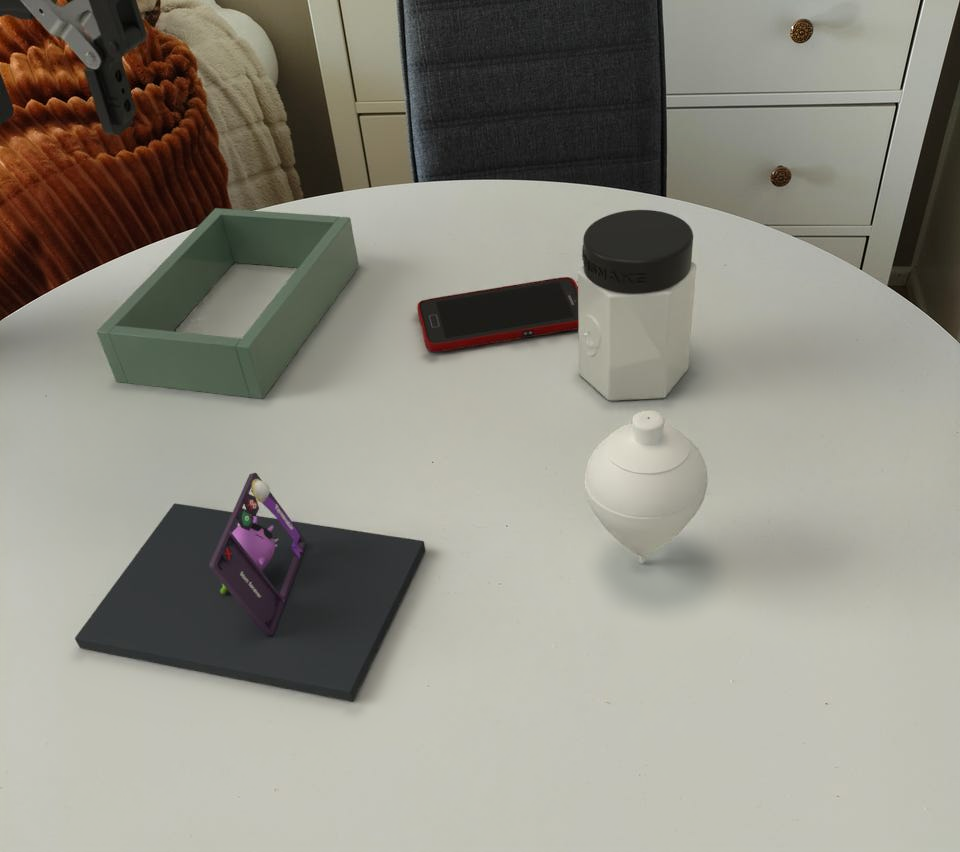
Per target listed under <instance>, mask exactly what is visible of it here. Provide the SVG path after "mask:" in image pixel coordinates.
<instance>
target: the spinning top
mask: <svg viewBox="0 0 960 852" xmlns="http://www.w3.org/2000/svg"><path fill="white" fill-rule="evenodd" d="M631 421H632V422H630V423H626V424H624V425H622V426H620V427H617V429H615V430H614V431H612V432H611V433H610V435H608V436H606V438H604V439H603V440H602V441H601V442H600V443H599V444H598V445H597V447H596V448H595V449H594V451H593V452H592V454H591V455H590V458H589V460H588V462H587V465H586V469H585V474H584V487H585V494H586V498H587V502H588V505H589V506H590V509H591V510H592V512H593V513H594V515H595V516H596V518H597V519H598V521H599V522H600V523H601V525H602V526H603V528H605V530H606V531H607V532H608V533H609V534H610V536H613V538H615V539H616V540H617V541H618V543H620V544H621V545H622V546H624V547H625V548H626V549H628V550H629V551H630V552H632V553H634V554H635V555H637V556H638V563H639V564H641V565H644V564H645V562H646V556H647V555H650V554H652V553H654V552H655V551H658V550H659V549H660V548H662V547H663V546H665V545H666V544H667V543H669V542H670V541H672V540H673V539H674V538H675V537H676V536H678V535H679V534H680V533H681V532H682V531H683V530H684V529H685V528H686V526H687V525H688V524H689V523H690V522H691V521H692V519H693V518H694V517H695V516H696V515H697V513H698V511H699V510H700V509H701V506H702V504H703V502H704V500H705V497H706V493H707V490H708V482H709V481H708V480H709V479H708V469H707V465H706V462H705V459H704V456H703V455H702V453H701V451H700V450H699V449H698V447H697V446H696V444H695V443H694V442H693V441H692V440H691V439H690V438H688V437H687V436H686V435H685V433H684V432H683V431H681V430H680V429H679V428H677V427H676V426H673V425H671V424H668V423H666V420H665V417H664V416H663V414H662V413H660V412H659V411H655V410H653V409H652V410H651V409H648V410H641V411H639V412H637V413H635V414H634V415H633V417H632V420H631Z"/></svg>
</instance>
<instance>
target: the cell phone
mask: <svg viewBox="0 0 960 852" xmlns="http://www.w3.org/2000/svg"><path fill="white" fill-rule="evenodd" d="M416 309H417V315H418V320H419V323H420V324H419V325H420V327H421V332H422V336H423V340H424V344H425V347H426V349H427V350H428V351H429V352H431V353H439V352H447V351H454V350H458V349H466V348H471V347H478V346H483V345H489V344H490V345H491V344H495V343H501V342H506V341H513V340H519V339H525V338H531V337H537V336H544V335H550V334H555V333H561V332H567V331H574V330H578V283H577V282H576V280H575V279H574V278H572V277H569V276H562V277H556V278H555V277H554V278H548V279H542V280H536V281H530V282H524V283H523V282H522V283H518V284H511V285H505V286H500V287H493V288H487V289H481V290H474V291H468V292H462V293H455V294H450V295H443V296H437V297H432V298H427V299H422V300H420V301H419V302H418V303H417V307H416Z"/></svg>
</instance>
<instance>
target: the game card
mask: <svg viewBox="0 0 960 852" xmlns="http://www.w3.org/2000/svg"><path fill="white" fill-rule="evenodd" d="M250 492H251V493H252V494H250ZM258 502H259V503H261V504H262V505H263V506H264V507H265V508H267V509H268V511H270V513H271V514H273V516H274V517H275V519H278V520H279V522H280V523H281V524H282V526H283V527H284V528H285V529H286V531H287V532H288V533H289V535H290V536H291V537H292V539H293V540H294V542H293V544H292V550H293V551H294V552H295V554H294V557H293V559H292V562H291V565H290V567H289V570H288V573H287V575H286V578H285V581H284V583H283V586H282V589H281V591H280V594H279V592H278V591H277V590H276V589H275V587H274V586H273V585H272V584H271V582H270V581H269V580H268V579H267V577H266V576H265V575H264V573H263V572H262V570H263V569H264V568H265V567H266V565H267V564H268V562H269V561H270V559H271V558H272V556H273V554H274V550H275V547H276V546H277V545H276V544H275V542H276V541H278V539H275V540H274V539H273V536H272V533H271V532H272V530H273V528H274V526H273V525H272V526H270V527H269V528H268V529H266V528H264V527H262V526H260V525H258V519H257V516H258V515H257V514H258V512H259V510H260V507H259V503H258ZM231 512H232V515H231V517H230V519H229V521H228V523H227V526H226V528H225V530H224V532H223V535H222V537H221V539H220V541H219V544H218V546H217V548H216V550H215V552H214V555H213V557H212V559H211V561H210V564H209V567H210V569H211V570H212V572H213V573H214V574H215V575H216V576H217V578H218V579H219V580H220V581H221V582H222V585H223V586H222V589H221V590H220V592H221V594H226V593H227V591H229V592H230V593H231V594H232V595H233V597H234V598H235V599H236V600H237V601H238V603H239V604H240V605H241V606H242V607H243V609H244V610H245V611H246V612H247V613H248V615H249V616H250V617H251V618H252V619H253V621H254V622H255V623H256V624H257V625H258V627H259V628H260V629H261V630H262V631H263V633H264V634H265V635H266V636H271V635H273V634H274V631H275V629H276V626H277V623H278V620H279V618H280V615H281V612H282V609H283V607H284V604H285V601H286V599H287V596H288V593H289V590H290V588H291V585H292V582H293V579H294V577H295V574H296V571H297V569H298V566H299V563H300V560H301V558H302V555H303V552H304V549H305V547H306V540H305V539H304V537H303V536H302V535H301V533H300V532H299V531H298V529H297V528H296V526H295V525H294V524H293V522H292V521H293V520H291V518H290V517H289V516H288V514H287V513H286V512H285V510H284V509H283V507H282V506H281V504H280V503H279V502H278V500H277V499H276V497H275V496H274V495H273V494H272V492H271V487H270V486H269V484H268V483H267V482H265V481H264V480H262V478H261V477H260V476H259V474H258V473H257V472H252V473H250V474H249V475H248V477H247V479H246V481H245V484H244V486H243V488H242V490H241V492H240V495H239V497H238V499H237V502H236V503H235V506H234V508H233V510H232V511H231ZM251 515H253V516H254V520H253V521H252V518H251ZM237 519H238V520H239V523H240V524H239V523H238V527H237V528H236V529H235V530H234V531H233V532H232V530H233V528H234V526H235V524H236V521H237ZM297 543H298V545H297Z"/></svg>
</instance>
